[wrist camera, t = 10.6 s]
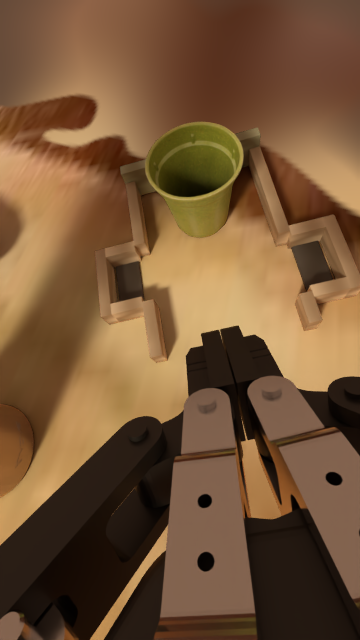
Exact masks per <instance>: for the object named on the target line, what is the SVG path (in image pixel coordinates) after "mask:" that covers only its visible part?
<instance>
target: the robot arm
mask: <svg viewBox="0 0 360 640" xmlns="http://www.w3.org/2000/svg"><path fill="white" fill-rule="evenodd" d="M220 331H221V335H220V332H219V330H215V331H211V332H206V333H201V336H202V342H203V346H199V347H194V348H191V349H190V350H189V352H188V354H187V355H186V365H187V380H188V394H189V397H188V398H187V400H186V401H185V404H184V410H183V412H182V413H180V414H179V415H178V416H176V417H175V418H173V419H171V420H169V421H167V422H164V423H162V424H161V423H160V422H159V420H157V419H156V418H154V417H149V416H143V417H138V418H135V419H133V420H131V421H129V422H127V423H126V424H125V425H123V426H122V427H121V428H120V429H119V430H118V431H117V432H116V433H115V434H114V435H113V436H112V437H111V438H110V439H109V440H108V441H107V442H106V443H105V444H104V445H103V446H102V447H101V448H100V449H99V450H98V451H97V452H96V453H95V454H94V455H93V456H92V457H91V458H90V459H88V460H87V461H86V462H85V463H84V464H83V465H82V466H81V467H80V468H79V469H78V470H77V471H76V472H75V473H74V474H73V475H72V476H71V477H70V478H69V479H68V480H67V481H66V482H65V483H64V484H63V485H62V486H61V487H60V488H59V489H58V490H57V491H56V492H55V493H54V494H53V495H52V496H51V497H50V498H49V499H48V500H46V501H45V502H44V503H43V504H42V505H41V506H40V507H39V508H38V509H37V510H36V511H35V512H34V513H33V514H32V515H31V516H30V517H29V518H28V519H27V520H26V521H25V522H24V523H23V524H22V525H21V526H20V527H19V528H18V529H17V530H16V531H15V532H14V533H13V534H12V535H11V536H10V537H9V538H8V539H7V540H6V541H5V542H3V543H2V544H1V545H0V640H90V638H91V637H92V635H93V634H94V632H95V631H96V630H97V628H98V627H99V625H100V624H101V622H102V621H103V619H104V618H105V616H106V615H107V613H108V612H109V610H110V609H111V608H112V606H113V605H114V603H115V602H116V600H117V599H118V597H119V596H120V594H121V593H122V591H123V590H124V588H125V587H126V585H127V584H128V583H129V581H130V580H131V578H132V577H133V575H134V574H135V572H136V571H137V569H138V568H139V566H140V565H141V563H142V562H143V561H144V559H145V558H146V556H147V555H148V553H149V552H150V550H151V549H152V547H153V546H154V544H155V543H156V541H157V540H158V538H159V537H160V536H161V534H162V533H163V531H164V530H165V528H166V527H167V525H168V534H167V546H166V551H165V552H163V553H162V554H161V555H160V556H159V557H158V558H157V559H156V560H155V561H154V563H153V564H152V565H151V566H150V568H149V569H148V570H147V571H146V573H145V574H144V576H143V577H142V579H141V581H140V582H139V584H138V585H137V587H136V589H135V590H134V592H133V593H132V595H131V597H130V598H129V600H128V602H127V603H126V605H125V606H124V608H123V610H122V611H121V613H120V614H119V616H118V618H117V619H116V621H115V622H114V624H113V626H112V627H111V629H110V631H109V632H108V634H107V635H106V637H105V639H104V640H360V377H343V378H339V379H337V380H335V381H333V382H332V383H331V384H330V385H329V387H328V392H318V391H305V390H301V389H298V388H296V386H295V385H294V384H293V383H292V382H291V381H290V380H288V379H286V378H284V377H283V375H282V373H281V371H280V370H279V368H278V366H277V364H276V362H275V360H274V358H273V357H272V355H271V353H270V351H269V349H268V347H267V345H266V344H265V342H264V340H263V339H261V338H259V337H258V336H256V335H250V336H246V337H243V335H242V332H241V330H240V328H239V326H233V327H229V328H224V329H220ZM221 336H222V339H221ZM222 341H223V342H222ZM241 418H242V419H241ZM242 421H243V424H242ZM243 425H244V428H245V432H246V436H247V439H248V440H251V439H255V441H256V445H257V449H258V454H259V459H260V462H261V465H262V468H263V470H264V473H265V475H266V478H267V480H268V483H269V485H270V488H271V490H272V493H273V495H274V498H275V500H276V503H277V505H278V508H279V510H280V513H281V517H279V518H276V519H259V518H251V513H250V506H249V500H248V493H247V486H246V479H245V473H244V466H243V461H242V458H243V450H242V445H241V441H246V439H245V434H244V429H243ZM33 447H34V439H33V431H32V428H31V425H30V423H29V421H28V419H27V418H26V416H25V415H24V414H23V413H22V412H21V411H20V410H18V409H16V408H15V407H12V406H9V405H4V404H0V497H2V496H4V495H6V494H7V493H9V492H10V491H11V490H13V489H14V488H15V486H16V485H17V484H18V483H19V482H20V481H21V479H22V478H23V476H24V475H25V473H26V471H27V469H28V467H29V465H30V462H31V458H32V455H33ZM131 491H132V492H131ZM130 492H131V493H130ZM126 497H127V498H126ZM125 498H126V499H125ZM121 503H122V504H121ZM120 504H121V505H120ZM117 508H118V509H117ZM116 509H117V510H116ZM115 510H116V511H115ZM112 514H113V515H112Z"/></svg>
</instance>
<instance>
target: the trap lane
mask: <svg viewBox="0 0 360 640" xmlns="http://www.w3.org/2000/svg"><path fill="white" fill-rule="evenodd" d="M235 135H236V136H237V138H238V139H239V141H240V142H241V145H242V148H243V155H244V157H243V165H242V168H243V167H246V166H249V168H250V171H251V174H252V177H253V180H254V183H255V186H256V189H257V192H258V195H259V198H260V201H261V204H262V207H263V210H264V213H265V216H266V219H267V222H268V225H269V228H270V231H271V234H272V236H273V239H274V242H275V245H276V246H280V245H285V244H287V246H288V248H291V249H292V252H293V254H294V257H295V260H296V263H297V266H298V268H299V271H300V274H301V277H302V280H303V282H304V285H305V288H306V291H307V292H305V293H300V294H299V296H298V298H297V300H296V303H295V305H296V308H297V311H298V314H299V317H300V320H301V323H302V326H303V329H304V331H306V330H311V329H315V328H317V327H318V326H319V324H320V323H321V321H322V320H323V319H322V317H321V314H320V311H319V308H318V306H317V304H321V303H326V302H330V301H335V300H339V299H344V298H348V297H353V296H356V295H357V293H358V292H359V291H360V273H359V271H358V269H357V266H356V264H355V262H354V259H353V257H352V255H351V252H350V250H349V248H348V246H347V243H346V241H345V239H344V236H343V234H342V232H341V229H340V227H339V225H338V222H337V220H336V218H335V216H334V214H333V215H329V216H325V217H321V218H317V219H313V220H309V221H305V222H301V223H297V224H293V225H289V226H288V223H287V220H286V217H285V215H284V212H283V209H282V206H281V204H280V201H279V198H278V195H277V193H276V190H275V187H274V184H273V182H272V179H271V176H270V173H269V171H268V168H267V165H266V162H265V160H264V157H263V154H262V151H261V148H260V132H259V130H258V128H254V129H251V130H247V131H243V132H240V133H237V134H235ZM145 162H146V159H145V160H142V161H138V162H135V163H131V164H128V165H124V166H121V167H120V170H121V175H122V177H123V180H124V182H125V185H126V192H127V199H128V206H129V213H130V220H131V227H132V234H133V241H131V242H127V243H123V244H119V245H115V246H112V247H108V248H104V249H100V250H96V251H95V259H96V270H97V282H98V293H99V305H100V316H101V318H103V319H104V320H105V321H106V322H107V323H109V324H114V323H118V322H123V321H127V320H131V319H135V318H140V317H144V319H145V326H146V333H147V340H148V347H149V354H150V358H151V359H153V360H154V361H155V362H156V363H157V362H162V361H167V354H166V348H165V342H164V336H163V330H162V323H161V317H160V311H159V307H158V306H157V304H156V303H155V301H154V299H151V300H147V301H144V294H143V287H142V280H141V273H140V267H139V262H140V261H141V257H142V256H146V255H150V249H149V243H148V237H147V231H146V225H145V219H144V212H143V206H142V200H141V195H144V194H148V193H151V192H155V191H156V190H155V189H154V188H153V187H152V186H151V184H150V183H149V181H148V178H147V176H146V172H145ZM318 241H320V242H321V244H322V247H323V249H324V252H325V254H326V257H327V260H328V262H329V265H330V267H331V270H332V272H333V275H334V277H335V280H333V278H332V275H331V273H330V270H329V268H328V265H327V263H326V260H325V258H324V255H323V253H322V250H321V248H320V245H319V243H318ZM114 268H116V274H117V282H118V291H119V300H120V302H118V300H117V291H116V282H115V273H114Z"/></svg>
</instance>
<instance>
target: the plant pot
mask: <svg viewBox="0 0 360 640" xmlns="http://www.w3.org/2000/svg"><path fill="white" fill-rule="evenodd" d="M243 157H244V155H243V148H242V145H241V142H240V141H239V139H238V138H237V136H236V135H235V134H234V133H233V132H232V131H230V130H229V129H227V128H226V127H224V126H221V125H219V124H215V123H210V122H192V123H186V124H183V125H180V126H178V127H175V128H173V129H171V130H169V131H168V132H166V133H165V134H164V135H162V136H161V137H160V138H159V139H158V140H157V141H156V142H155V143H154V145H153V146H152V147H151V149H150V150H149V152H148V155H147V158H146V162H145V172H146V176H147V178H148V181H149V183H150V184H151V186H152V187H153V188H154V189H155V190H156V191H157V192H158V193H159V194H161V196H162V197H163V198H164V199H165V201H166V203H167V205H168V207H169V209H170V210H171V212H172V214H173V216H174V218H175V220H176V222H177V224H178V226H179V228H180V229H181V230H182V231H184V232H185V233H186V234H188V235H189V236H192V237H207V236H210V235H213V234H215V233H216V232H217V231H218V230H219V229H220V228H221V227H222V226H223V225H224V224H225V222H226V220H227V216H228V210H229V203H230V197H231V192H232V186H233V183H234V181H235V179H236V178H237V176H238V175H239V173H240V171H241V168H242V165H243Z"/></svg>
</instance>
